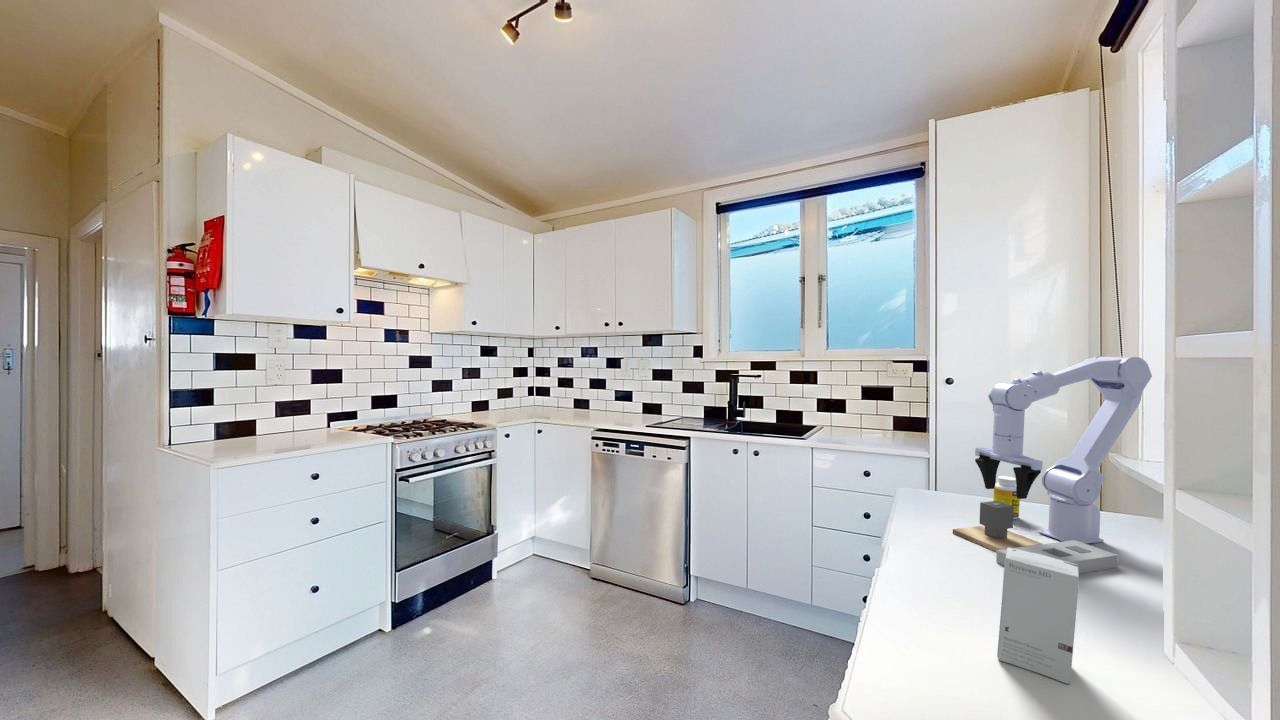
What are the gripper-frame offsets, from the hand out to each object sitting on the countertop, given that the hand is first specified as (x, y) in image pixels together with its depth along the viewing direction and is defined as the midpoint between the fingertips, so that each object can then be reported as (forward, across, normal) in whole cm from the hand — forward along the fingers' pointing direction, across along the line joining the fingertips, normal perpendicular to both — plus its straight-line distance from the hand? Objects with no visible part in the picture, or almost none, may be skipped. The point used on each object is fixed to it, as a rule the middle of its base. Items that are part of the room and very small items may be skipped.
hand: (1005, 493), depth 117 cm
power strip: (+10, +14, -4) cm, 18 cm away
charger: (+10, +1, -4) cm, 10 cm away
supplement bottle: (+10, -11, +15) cm, 21 cm away
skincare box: (+11, +37, -41) cm, 56 cm away
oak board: (+10, +1, -4) cm, 11 cm away
